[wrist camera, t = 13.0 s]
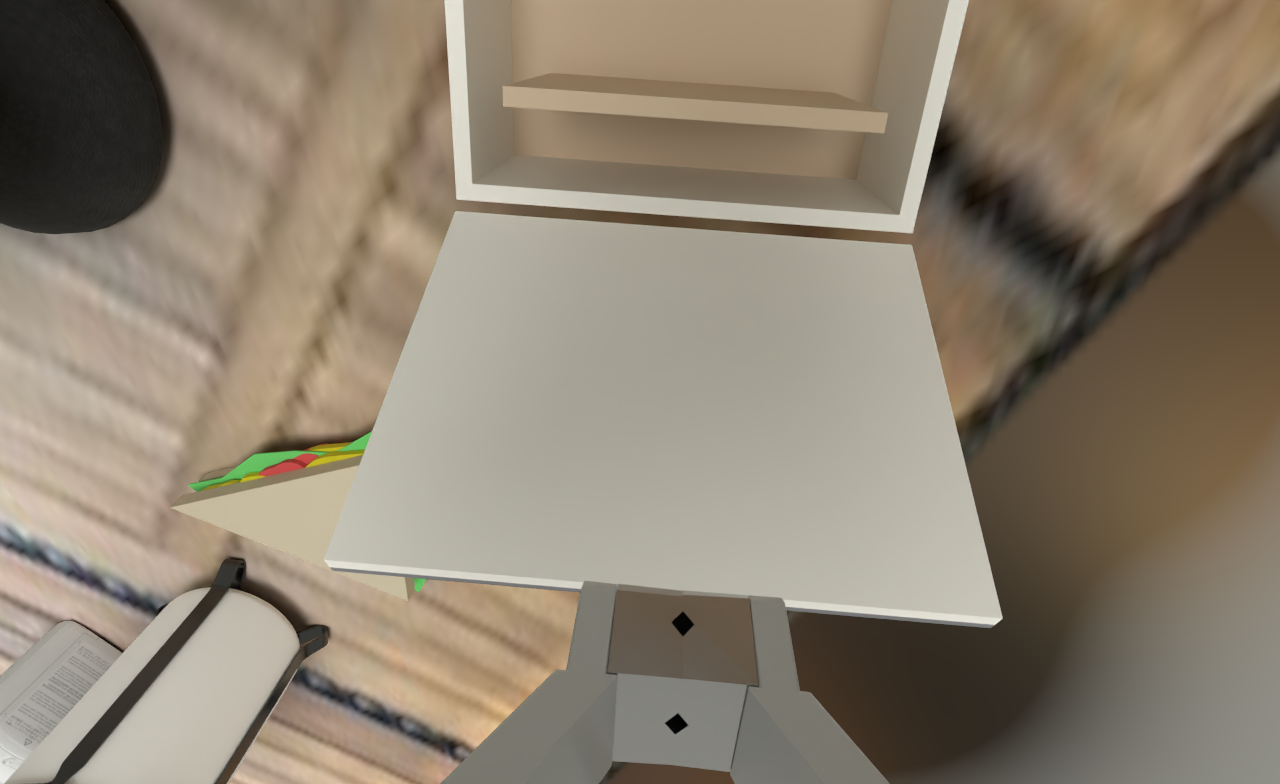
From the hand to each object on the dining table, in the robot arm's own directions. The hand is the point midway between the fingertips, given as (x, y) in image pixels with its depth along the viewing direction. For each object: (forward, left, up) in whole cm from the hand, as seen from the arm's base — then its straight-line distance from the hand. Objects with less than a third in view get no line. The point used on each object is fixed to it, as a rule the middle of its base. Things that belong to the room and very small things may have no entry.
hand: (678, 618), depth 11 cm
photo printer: (+47, -50, -36) cm, 77 cm away
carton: (-9, 0, -36) cm, 37 cm away
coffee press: (+42, -36, -36) cm, 66 cm away
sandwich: (+24, -26, -36) cm, 51 cm away
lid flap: (0, 0, -26) cm, 26 cm away
